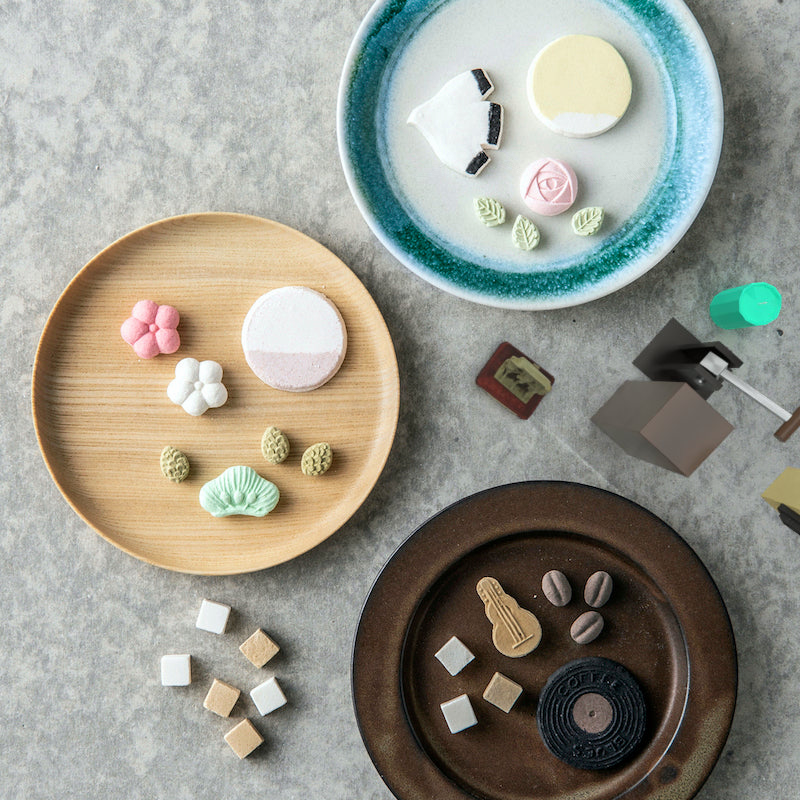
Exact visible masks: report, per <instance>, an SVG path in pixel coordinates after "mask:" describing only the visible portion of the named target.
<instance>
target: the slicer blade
mask: <svg viewBox="0 0 800 800" xmlns="http://www.w3.org/2000/svg"><path fill="white" fill-rule="evenodd" d="M700 365H701V366H702V367H703V368H704V369H705V370H707V371H708V372H709V373H710V374H711V375H712V376H713V377H714V378H716V379H718V378H719V377H721V378H722V379H724V382H726V383H728V385H731V386H732V387H734V388H735V389H736V390H738V392H740V393H742V394H743V395H745V396H746V397H747V398H750V400H751V401H753V402H755V403H756V404H758V405H759V406H760V407H762V408H763V409H765V410H766V411H767V412H769V413H771V414H772V415H773V416H774V417H776V418H777V419H778V420H780V421H781V422H783V423H782V424H781V425H780V426H779V427H778V429H776V430H775V431H774V433H773V435H772V436H773V437H774V438H775V439H776V440H777V441H779V442H780V443H782V444H785V443H786V442H787V441H788V440H790V438H791V437H792V436H793V435H794V434H795V433H796V431H798V429H799V428H800V405H799V406H797V408H796V409H795V410H794V411H793V412H791V413H790V412H789V411H788V410H786V409H784V407H782V406H780V405H779V404H777V403H776V402H774V401H773V400H771V399H770V398H769V397H768V396H766V395H764V394H763V393H761V392H760V391H759V390H757V389H756V388H754V387H753V386H752V385H750V384H748V383H747V382H745V381H744V380H743V379H741V378H740V377H739V376H737V375H736V374H734V373H732V372H730V371H728V370H727V366H728V363H727V362H725V361H724V360H722V359H721V358H720V357H718V356H717V355H715V354H714V353H712V352H711V351H710V352H709V353H708V354H707V356H706V357H705V358H704V359H703V360H702V361H701V362H700Z"/></svg>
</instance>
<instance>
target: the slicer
mask: <svg viewBox="0 0 800 800" xmlns="http://www.w3.org/2000/svg"><path fill="white" fill-rule="evenodd" d="M710 351H711V352H712V353H714V354H715V355H717V356H718V357H720V358H721V359H722V360H724V361H725V362H727V363H728V366H727V370H728V371H730V372H731V373H732V372H734V370H733V369H740V368H741V367H742V366H743V365H744V364H745V362H744V361H742V359H740V358H739V357H738V355H736V354H735V353H734V351H733V350H732V349H731V348H730V347H729V346H726V344H724V343H723V342H722V341H721V340H715V341H714V340H713V341H704V342H702V341H700V339H698V338H697V337H696V336H695V335H694V334H692V332H691V331H689V330H688V329H687V328H686V327H684V325H682V323H680V321H678V320H677V319H676V318H675V317H671V318H670V319H669V321H668V322H667V323H666V324H665V325H664V326H663V327H662V329H660V331H659V332H658V333H657V334H656V335H655V336H654V337H653V338H652V339H651V341H650V342H649V343H648V344H647V345H646V346H645V347H644V349H643V350H642V351H641V352H640V353H639V354H638V355H637V356H636V357H635V359H634V360H632V362H631V364H633V365H634V366H635V367H636V368H637V369H638V370H640V372H642V374H644V375H645V376H646V377H647V378H648V379H649V380H650V381H662V382H686V383H687V384H688V385H689V386H690V387H691V388H692V389H693V390H695V391H696V392H697V393H698V394H699V395H700V396H701V397H702V398H703V399H704V400H705V401H706V402H707V400H708V399H709V398H711V396H712V395H713V393H714V392H719V391H720V390H722V388H723V387H724V384H723V383H724V382H725V380H724V379H722V378H721V377H719V378H718V379H716V378H714V377H713V376H712V375H711V374H710V373H709V372H708V371H707V370H705V369H704V368H703V367H702V366H701V365H700V362H701V361H702V360H703V359H704V358H705V357H706V356H707V354H708V353H709V352H710Z"/></svg>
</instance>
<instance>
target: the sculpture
mask: <svg viewBox="0 0 800 800" xmlns="http://www.w3.org/2000/svg"><path fill="white" fill-rule="evenodd" d="M555 381H556V378H555V376H554V375H552V374H551V373H550V372H548V371H547V370H546V369H544V368H543V367H542V366H541V365H539V364H538V363H537V362H535V361H534V359H531V358H530V357H529V356H527V354H525V353H524V352H522V351H521V350H520V349H518V348H517V347H516V346H514V345H513V344H512V343H510V342H508V341H501V343H500V344H499V345H498V346H497V348H496V349H495V350H494V352H493V353H492V355H491V356H490V357H489V359H488V361H486V363H485V364H484V365H483V367H482V368H481V370H480V371H479V372H478V374H477V375H476V377H475V381H474V383H475V384H476V385H477V387H479V388H480V389H482V390H483V391H484V392H485V394H487V395H488V396H490V397H491V398H492V399H493V400H494V401H495V402H496V403H498V404H499V405H501V406H502V407H503V408H505V409H506V410H508V411H509V412H510V413H511V414H512V415H515V416H516V417H517V418H519V419H520V420H522V421H527V420H529V419H530V417H532V415H533V414H534V412H535V411H536V409H537V407H539V405H540V403H541V402H542V400H543V399H544V397H545V396H546V395H548V394H549V393H551V392H552V390H553V387H552V386H553V385H554V384H555Z"/></svg>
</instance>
